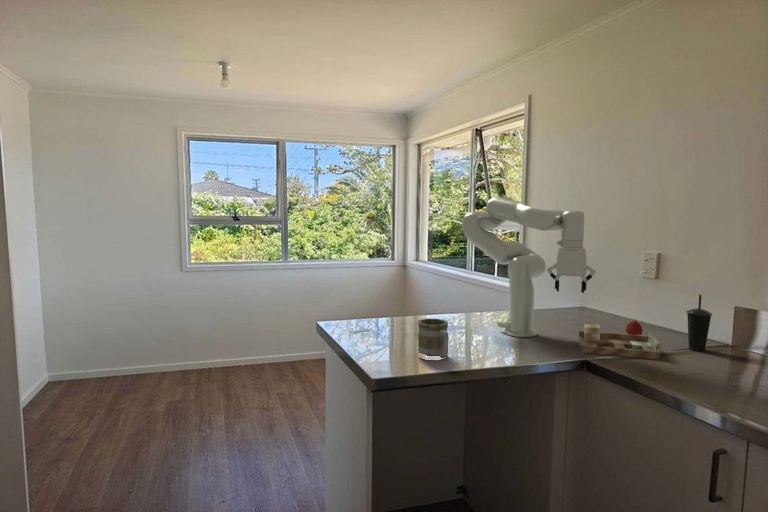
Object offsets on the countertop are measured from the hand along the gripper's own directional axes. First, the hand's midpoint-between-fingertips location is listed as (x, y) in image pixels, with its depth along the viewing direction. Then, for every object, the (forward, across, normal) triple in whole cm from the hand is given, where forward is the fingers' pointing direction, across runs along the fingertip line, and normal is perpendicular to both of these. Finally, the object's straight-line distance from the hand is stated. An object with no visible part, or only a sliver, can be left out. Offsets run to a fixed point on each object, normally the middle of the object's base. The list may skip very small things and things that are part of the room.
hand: (570, 291), depth 174 cm
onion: (+20, +25, +15) cm, 35 cm away
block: (+17, +8, 0) cm, 19 cm away
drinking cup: (+20, +44, +7) cm, 48 cm away
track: (+20, +16, -3) cm, 26 cm away
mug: (+20, -44, -32) cm, 58 cm away
